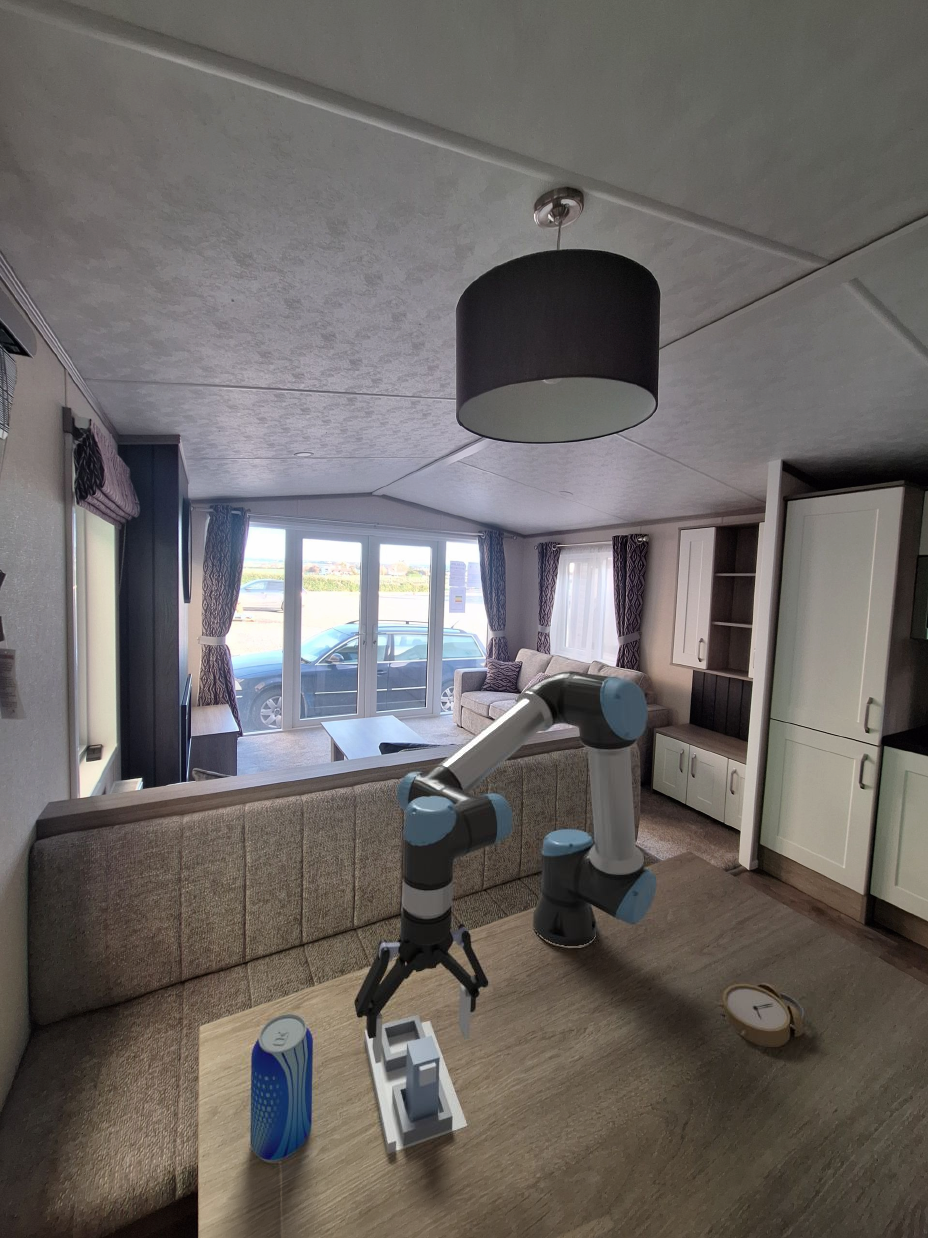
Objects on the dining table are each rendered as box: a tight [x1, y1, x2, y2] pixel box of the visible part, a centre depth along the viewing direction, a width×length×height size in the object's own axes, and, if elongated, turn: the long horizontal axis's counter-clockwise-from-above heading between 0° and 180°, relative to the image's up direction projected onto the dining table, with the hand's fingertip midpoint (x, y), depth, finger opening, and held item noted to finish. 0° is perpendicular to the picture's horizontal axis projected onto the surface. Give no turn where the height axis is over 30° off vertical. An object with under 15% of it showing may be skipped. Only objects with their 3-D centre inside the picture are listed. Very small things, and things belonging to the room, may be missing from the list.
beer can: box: [249, 1013, 314, 1164], centre depth 75 cm, size 8×8×16 cm
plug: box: [405, 1036, 440, 1123], centre depth 77 cm, size 4×5×10 cm
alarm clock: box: [716, 982, 807, 1048], centre depth 98 cm, size 11×5×15 cm
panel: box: [364, 1014, 468, 1155], centre depth 84 cm, size 12×20×3 cm, turn 20°
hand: (421, 1043), depth 77 cm, fingers open, 13 cm apart
